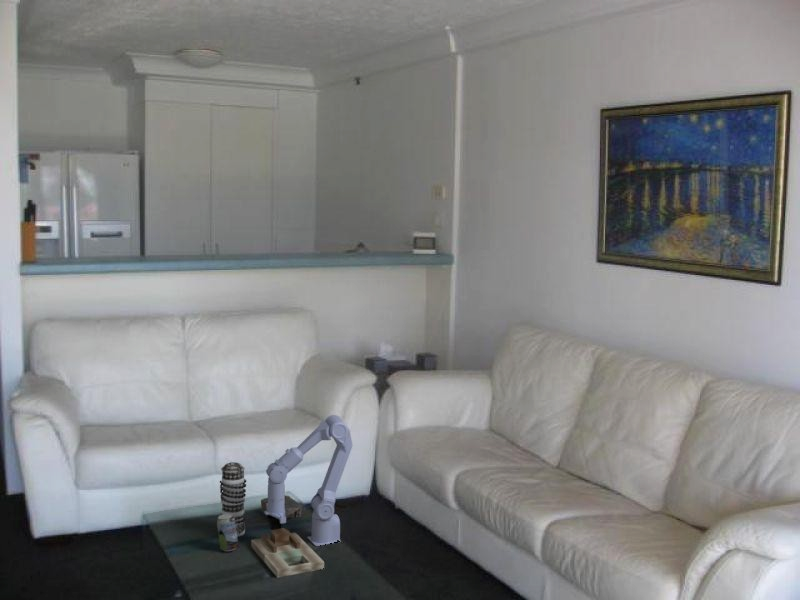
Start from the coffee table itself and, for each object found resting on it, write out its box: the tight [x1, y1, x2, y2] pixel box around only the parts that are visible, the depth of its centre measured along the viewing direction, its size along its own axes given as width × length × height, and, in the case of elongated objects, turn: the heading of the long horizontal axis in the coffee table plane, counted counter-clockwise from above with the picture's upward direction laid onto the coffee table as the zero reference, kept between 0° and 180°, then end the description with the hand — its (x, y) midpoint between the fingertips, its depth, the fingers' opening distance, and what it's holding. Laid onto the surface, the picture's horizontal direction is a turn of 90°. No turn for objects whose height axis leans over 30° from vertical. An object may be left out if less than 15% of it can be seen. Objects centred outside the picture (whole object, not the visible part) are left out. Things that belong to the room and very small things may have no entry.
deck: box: [250, 529, 325, 579], centre depth 322 cm, size 16×26×4 cm, turn 27°
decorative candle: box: [219, 461, 247, 538], centre depth 339 cm, size 9×9×25 cm
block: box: [269, 527, 289, 547], centre depth 327 cm, size 5×5×4 cm
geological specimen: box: [260, 494, 303, 519], centre depth 359 cm, size 11×6×15 cm
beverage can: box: [216, 514, 239, 552], centre depth 326 cm, size 6×7×12 cm
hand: (275, 535), depth 331 cm, fingers closed
